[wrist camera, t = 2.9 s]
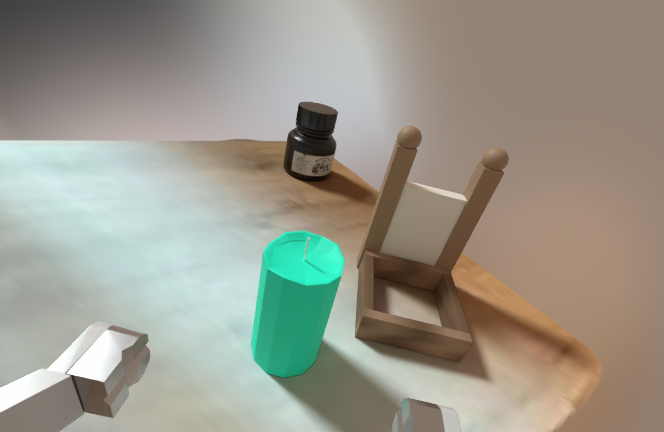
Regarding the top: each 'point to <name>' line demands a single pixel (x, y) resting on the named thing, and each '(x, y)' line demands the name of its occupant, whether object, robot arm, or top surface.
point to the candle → (294, 301)
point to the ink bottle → (311, 142)
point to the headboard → (428, 208)
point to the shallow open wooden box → (408, 332)
